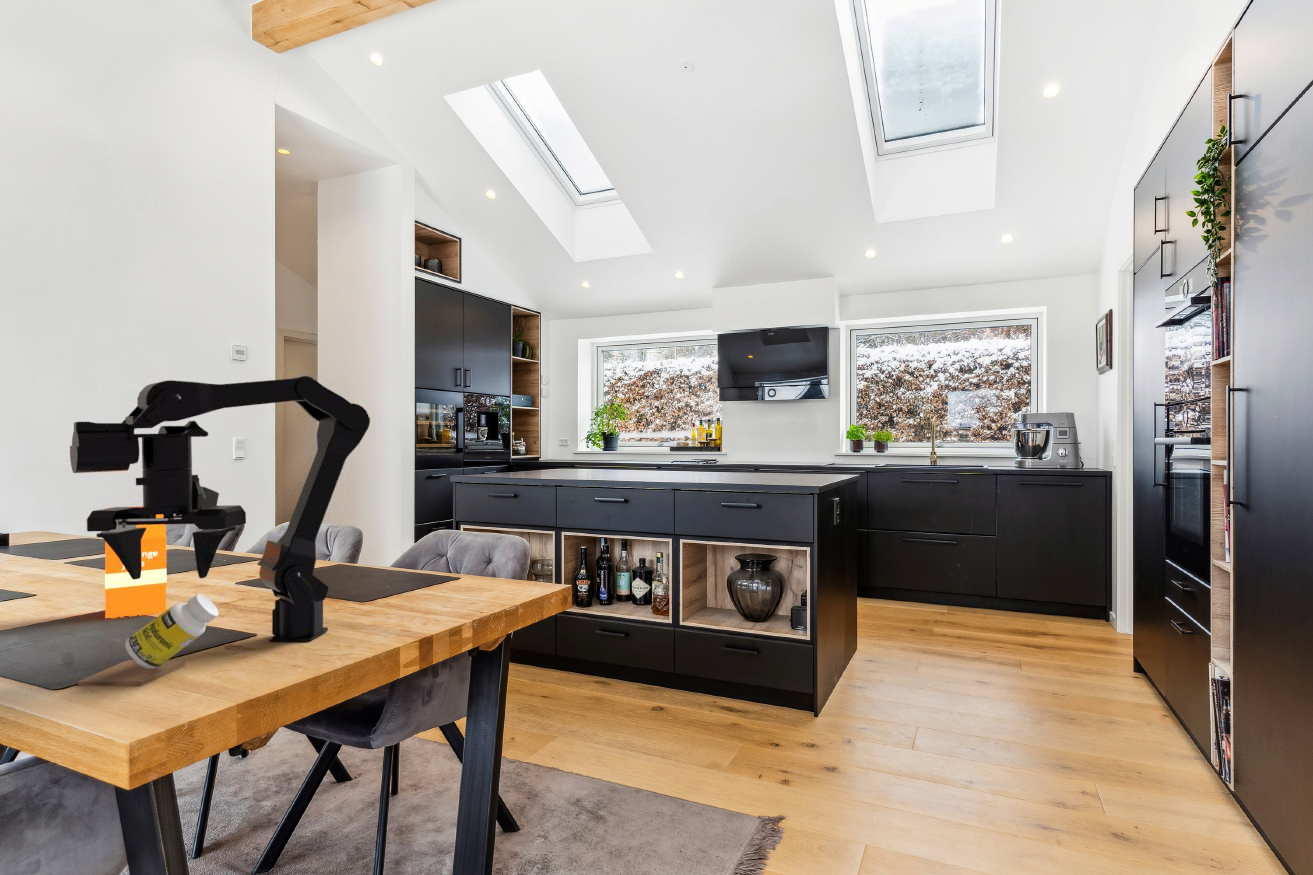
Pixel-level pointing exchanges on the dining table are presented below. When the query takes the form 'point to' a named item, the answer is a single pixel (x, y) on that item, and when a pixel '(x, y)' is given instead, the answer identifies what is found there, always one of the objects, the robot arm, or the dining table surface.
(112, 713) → the dining table surface
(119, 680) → the walnut slab
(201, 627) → the supplement bottle
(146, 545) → the orange juice
